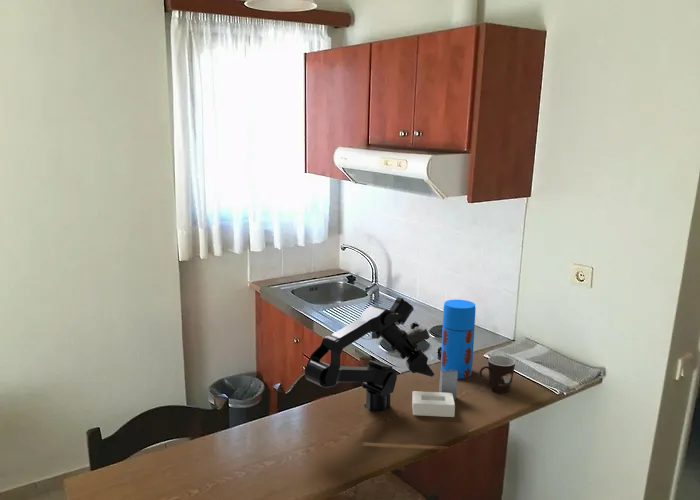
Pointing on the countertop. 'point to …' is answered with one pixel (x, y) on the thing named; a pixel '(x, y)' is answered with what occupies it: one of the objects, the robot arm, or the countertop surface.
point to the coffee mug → (500, 373)
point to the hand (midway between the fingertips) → (428, 369)
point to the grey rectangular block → (448, 381)
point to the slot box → (433, 404)
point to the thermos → (458, 336)
